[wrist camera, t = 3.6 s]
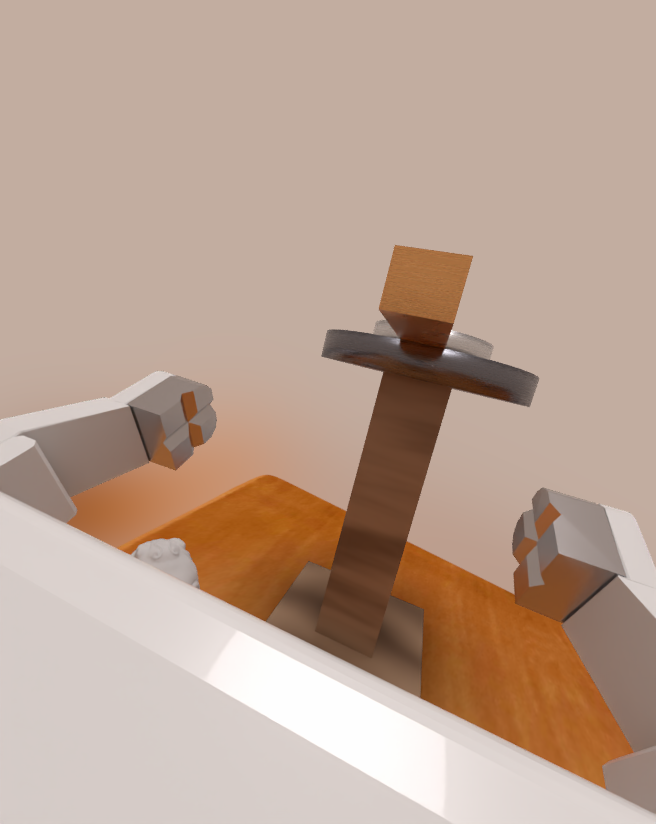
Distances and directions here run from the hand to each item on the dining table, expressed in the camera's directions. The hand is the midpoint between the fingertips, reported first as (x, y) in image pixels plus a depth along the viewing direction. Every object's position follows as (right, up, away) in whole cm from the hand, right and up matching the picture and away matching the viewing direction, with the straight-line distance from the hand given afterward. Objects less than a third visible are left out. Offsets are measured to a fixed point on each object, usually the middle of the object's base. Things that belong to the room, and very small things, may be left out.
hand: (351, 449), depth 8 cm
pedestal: (+1, -20, +22) cm, 30 cm away
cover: (+6, +5, +15) cm, 17 cm away
